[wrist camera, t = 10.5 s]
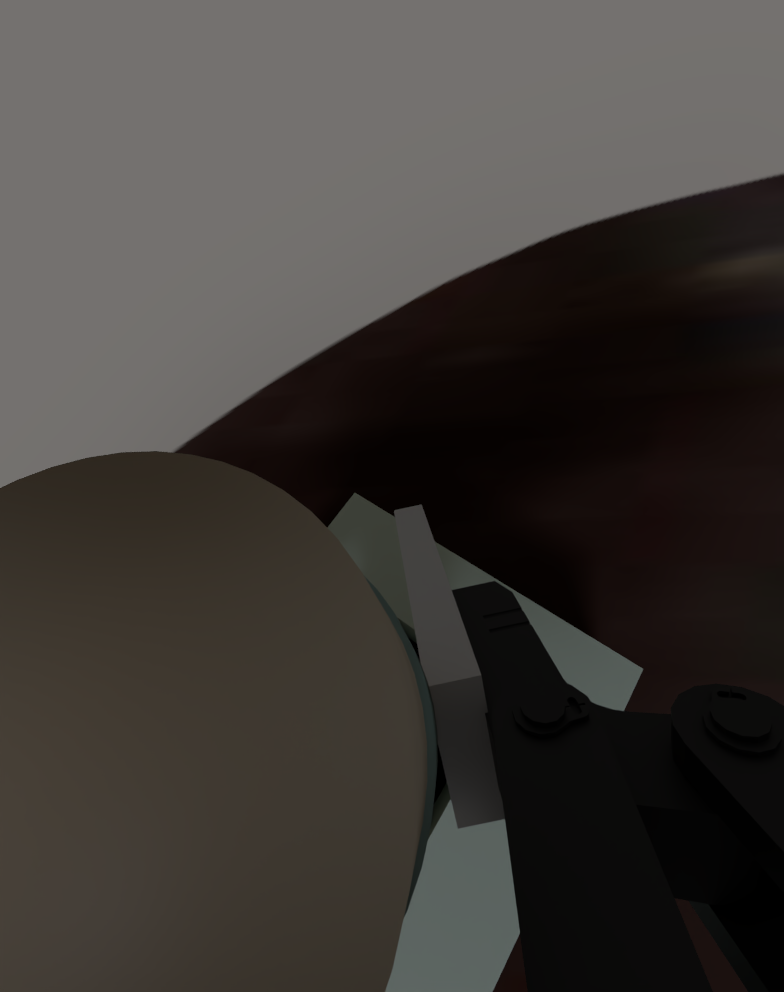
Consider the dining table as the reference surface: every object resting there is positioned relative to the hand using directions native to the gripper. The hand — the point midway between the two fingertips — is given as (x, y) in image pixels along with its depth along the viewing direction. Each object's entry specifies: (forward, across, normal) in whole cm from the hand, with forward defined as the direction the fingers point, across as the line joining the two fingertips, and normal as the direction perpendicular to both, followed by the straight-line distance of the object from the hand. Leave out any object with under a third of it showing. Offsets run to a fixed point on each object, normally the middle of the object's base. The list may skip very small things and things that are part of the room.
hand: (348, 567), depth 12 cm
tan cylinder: (+1, 0, -6) cm, 6 cm away
